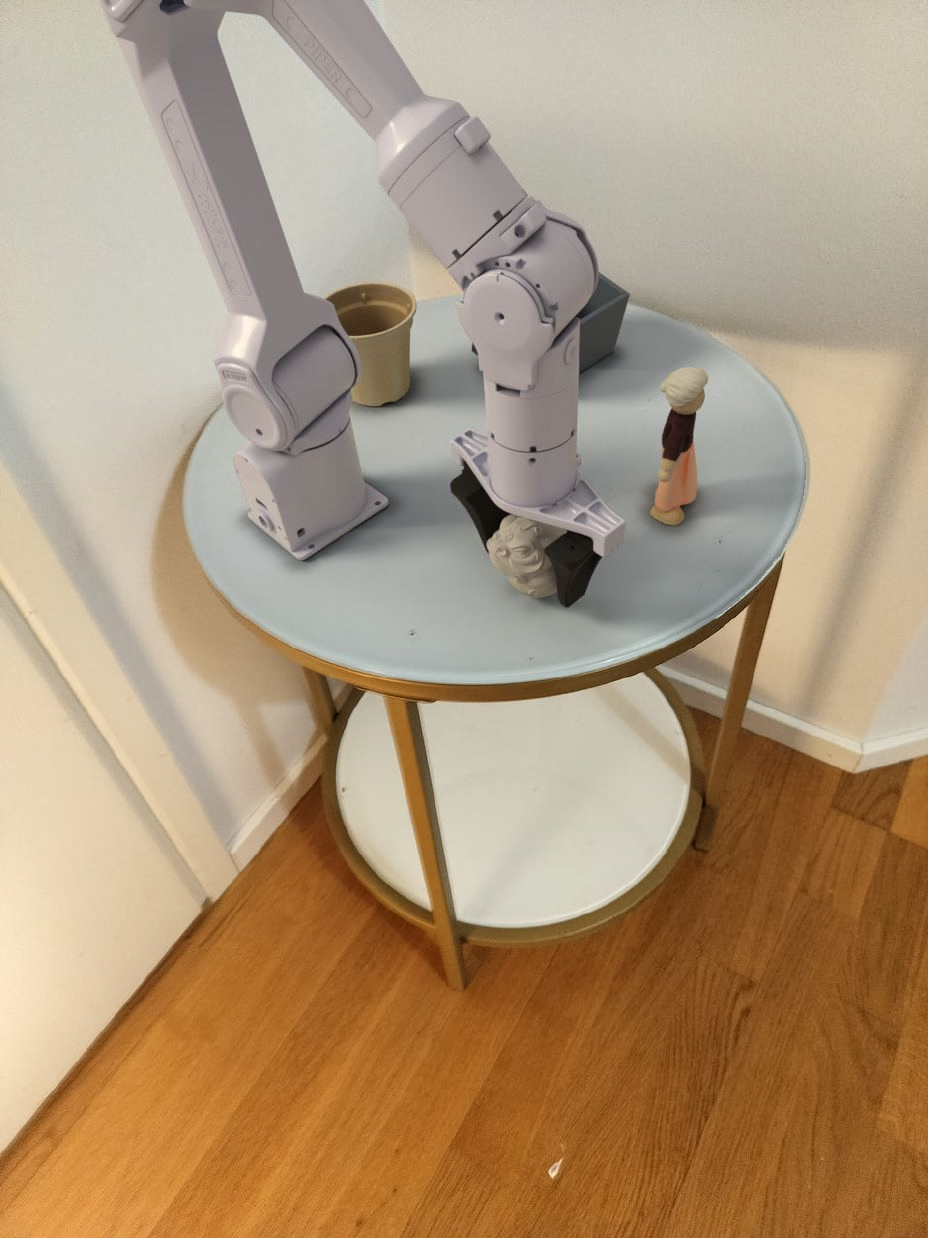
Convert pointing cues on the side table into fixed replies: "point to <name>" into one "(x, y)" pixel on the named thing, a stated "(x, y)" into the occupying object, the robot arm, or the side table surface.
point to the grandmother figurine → (679, 444)
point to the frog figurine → (525, 554)
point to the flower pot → (378, 337)
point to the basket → (599, 323)
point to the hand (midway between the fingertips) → (534, 572)
